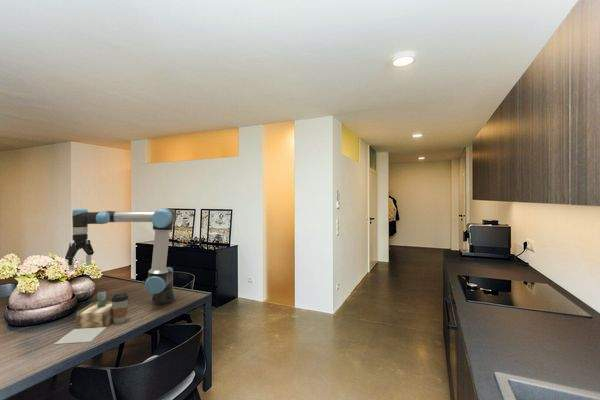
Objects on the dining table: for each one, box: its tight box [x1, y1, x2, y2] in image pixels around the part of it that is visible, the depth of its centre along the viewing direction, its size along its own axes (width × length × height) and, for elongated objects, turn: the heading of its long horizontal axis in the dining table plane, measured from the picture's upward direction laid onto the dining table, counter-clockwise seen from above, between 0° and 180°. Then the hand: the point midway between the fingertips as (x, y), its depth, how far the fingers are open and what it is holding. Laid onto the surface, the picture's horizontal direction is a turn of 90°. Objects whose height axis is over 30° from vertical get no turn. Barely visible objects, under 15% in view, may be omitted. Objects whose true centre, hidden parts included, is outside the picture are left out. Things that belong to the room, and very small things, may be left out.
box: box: [75, 301, 114, 329], centre depth 164 cm, size 15×16×8 cm
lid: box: [80, 291, 112, 315], centre depth 164 cm, size 12×14×9 cm
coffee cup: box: [110, 293, 129, 325], centre depth 165 cm, size 8×8×15 cm
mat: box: [53, 326, 108, 345], centre depth 148 cm, size 16×16×1 cm
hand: (80, 267), depth 179 cm, fingers open, 13 cm apart
